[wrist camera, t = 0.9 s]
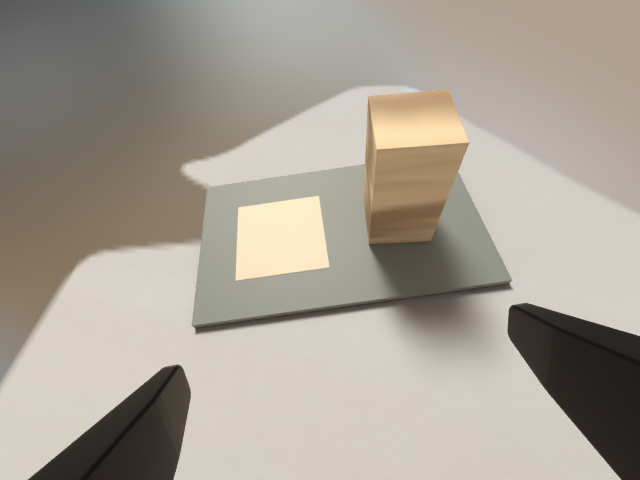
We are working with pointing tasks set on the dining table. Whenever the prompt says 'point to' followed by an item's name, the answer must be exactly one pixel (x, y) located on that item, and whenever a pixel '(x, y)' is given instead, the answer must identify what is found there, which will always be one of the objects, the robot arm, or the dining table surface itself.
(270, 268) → the slate board
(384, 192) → the maple block
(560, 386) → the robot arm
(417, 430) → the dining table surface
